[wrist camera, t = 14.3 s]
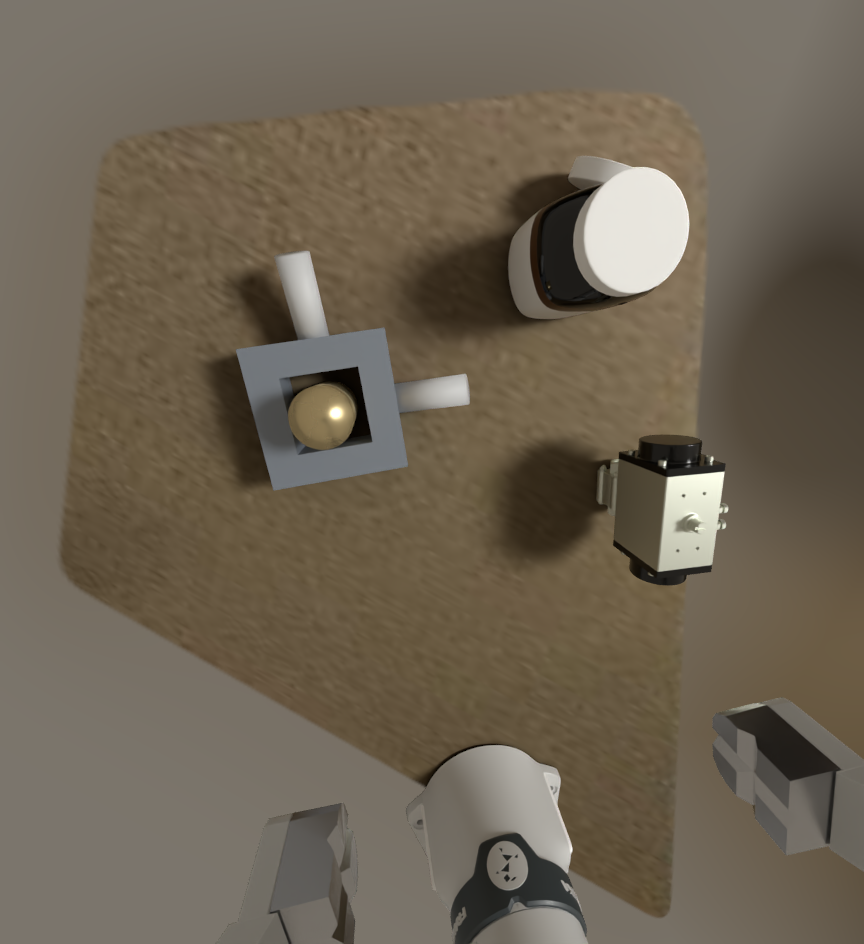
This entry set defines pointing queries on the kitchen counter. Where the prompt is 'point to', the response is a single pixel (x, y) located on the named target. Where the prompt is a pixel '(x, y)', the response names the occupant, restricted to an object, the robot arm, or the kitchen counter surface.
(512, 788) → the robot arm
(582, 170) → the spread jar
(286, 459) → the coupling block
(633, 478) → the pneumatic valve
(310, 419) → the cylinder
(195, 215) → the kitchen counter surface
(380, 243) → the kitchen counter surface
